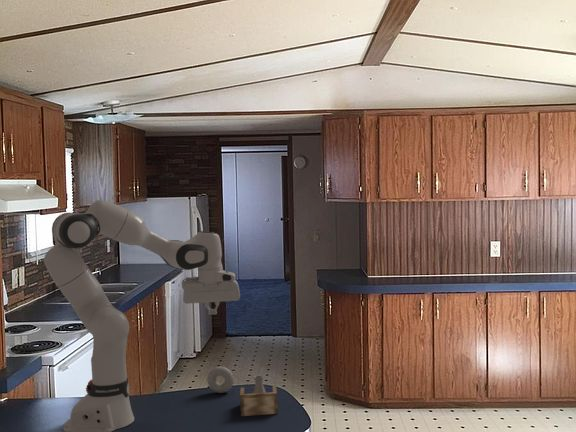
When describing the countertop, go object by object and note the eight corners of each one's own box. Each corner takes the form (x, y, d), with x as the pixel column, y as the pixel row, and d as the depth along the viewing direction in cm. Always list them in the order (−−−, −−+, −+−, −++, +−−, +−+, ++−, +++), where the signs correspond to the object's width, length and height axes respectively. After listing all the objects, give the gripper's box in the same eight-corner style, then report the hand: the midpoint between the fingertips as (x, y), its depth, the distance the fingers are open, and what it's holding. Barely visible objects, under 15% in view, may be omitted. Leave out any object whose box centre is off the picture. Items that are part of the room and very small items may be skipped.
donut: (207, 394, 232) (205, 368, 232) (208, 391, 236) (207, 365, 235) (233, 394, 232) (232, 367, 231) (235, 391, 235) (233, 364, 234)
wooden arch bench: (240, 416, 209) (239, 395, 209) (241, 404, 220) (240, 384, 220) (278, 413, 210) (277, 393, 209) (276, 402, 221) (275, 382, 220)
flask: (267, 409, 215) (265, 380, 214) (247, 408, 216) (245, 379, 216) (272, 401, 222) (271, 373, 221) (253, 400, 223) (251, 373, 223)
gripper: (180, 279, 221) (182, 317, 221) (238, 275, 222) (240, 314, 222) (182, 276, 227) (184, 314, 228) (239, 273, 228) (240, 310, 229)
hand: (212, 314), depth 225 cm, fingers closed
